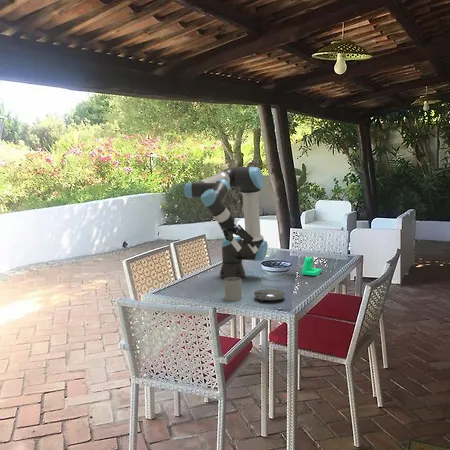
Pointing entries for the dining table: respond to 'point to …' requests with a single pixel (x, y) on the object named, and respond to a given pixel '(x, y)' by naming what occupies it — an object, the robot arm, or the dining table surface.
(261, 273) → the dining table surface
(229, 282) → the cup
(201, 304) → the dining table surface
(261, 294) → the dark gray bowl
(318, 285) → the dining table surface
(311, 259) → the camera mount
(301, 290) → the dining table surface
